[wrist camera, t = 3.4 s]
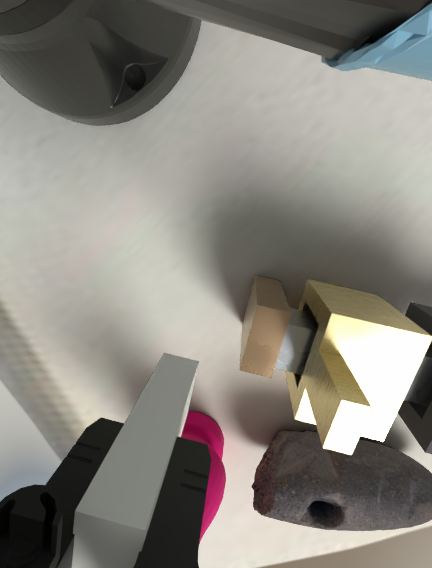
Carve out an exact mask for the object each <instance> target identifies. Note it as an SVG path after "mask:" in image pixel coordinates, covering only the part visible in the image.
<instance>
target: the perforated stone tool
mask: <svg viewBox="0 0 432 568" xmlns="http://www.w3.org/2000/svg"><path fill="white" fill-rule="evenodd" d="M254 479H255V481H254V483H253V485H252V488H253V489H254V498H253V499H254V502H253V507H254V510H256V511H258V513H259V514H261V515H264V516H266V517H269V518H273V519H277V520H281V521H286V522H290V523H294V524H298V525H303V526H308V527H313V528H319V529H325V530H348V531H373V530H374V531H375V530H393V529H399V528H407V527H413V526H417V525H420V524H423V523H426V522H428V521H430V520H432V473H431V472H430V471H429V470H427V469H426V468H425V467H424V466H423V465H421V464H420V463H418V462H417V461H415V460H414V459H412V458H410V457H409V456H407V455H405V454H403V453H401V452H399V451H397V450H395V449H393V448H390V447H387V446H384V445H381V444H378V443H374V442H370V441H366V440H358V442H357V444H356V446H355V449H354V451H353V453H352V455H349V454H345V453H342V452H338V451H334V450H330V449H326V448H323V447H322V443H321V440H320V437H319V433H318V432H313V431H305V432H299V431H285V430H282V431H279V432H278V433H277V435H276V437H275V438H274V439H273V441H272V443H271V445H270V446H269V447H268V449H267V450H266V452H265V453H264V455H263V458H262V460H261V461H260V464H259V465H258V467H257V469H256V473H255V478H254Z"/></svg>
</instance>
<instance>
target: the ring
mask: <svg viewBox="0 0 432 568" xmlns="http://www.w3.org/2000/svg"><path fill="white" fill-rule="evenodd" d="M405 316H406V317H407V318H409V319H410V320H411V321H413V322H414V323H415V324H417V325H418V326H419V327H421V328H422V329H423V330H425V331H426V332H427V333H429V334H430V335H431V336H432V307H428V306H423V305H419V304H415V303H410V305H409V307H408V310H407V312H406V314H405ZM431 341H432V340H431ZM398 414H399V415H400V417H401V418H402V420H403V421H404V422H405V424H406V425H407V427H408V428H409V430H410V431H411V433H412V434H413V435H414V437H415V438H416V440H417V441H418V443H419V444H420V446H421V447H422V449H423V450H424V451H425V452H426V453H430V454H432V401H431V403H430V405H429V406H426V405H422V404H418V403H414V402H410V401H406V400H403V402H402V404H401V406H400V408H399V410H398Z"/></svg>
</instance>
